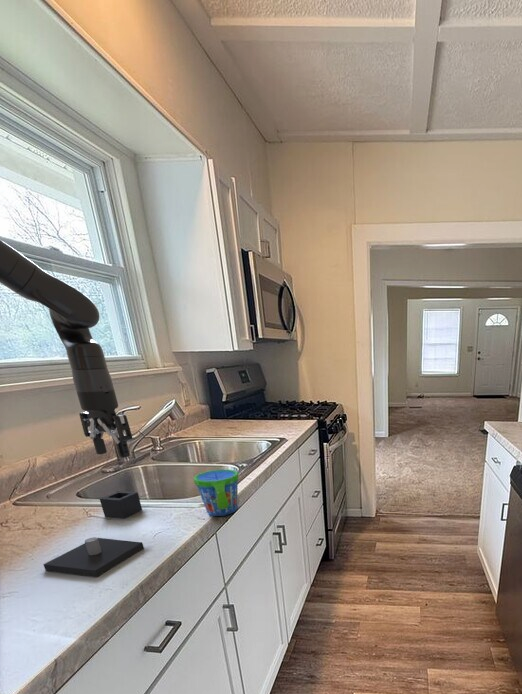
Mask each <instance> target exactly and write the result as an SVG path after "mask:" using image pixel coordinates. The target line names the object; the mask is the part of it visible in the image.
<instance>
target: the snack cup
mask: <svg viewBox="0 0 522 694" xmlns="http://www.w3.org/2000/svg"><path fill="white" fill-rule="evenodd" d="M239 477H240V475H239V472H238V471H236V470H234V469H214V470H213V469H212V470H207V471H204V472H200V473H198V474H196V475H195V476H193V482H194V484H195V486H196V487H197V490H198V493H199V495H200V498H201V500H202V503H203V506H204V508H205V511H206V513H207V514H208V515H209V516H211V517H212V516H213V517H224V516H228V515H231V514H232V513H233V514H234V513H235V512H237V511H238V503H239V502H238V496H239V495H238V492H239V491H238V489H239V488H238V485H239V484H238V481H239Z"/></svg>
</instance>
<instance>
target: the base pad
mask: <svg viewBox="0 0 522 694" xmlns="http://www.w3.org/2000/svg"><path fill="white" fill-rule="evenodd" d="M143 549H145V547H144V543H143V542H141V541H133V540H123V539H113V538H106V537H105V538H103V537H95V536H94V537H93V536H92V537H89V538H86V539H85V540H84V543H82V544H80V545H78V546H77V547H75V548H72V549H70V550H69V551H67V552H65V553H63V554H61V555H59V556H57V557H55V558H53V559H50V560H49V561H47V562H45V563H43V564H42V565H43V568H44V571H46V572H52V573H59V574H67V575H75V576H76V575H77V576H82V577H91V578H98V577H100V576H101V575H104V574H105V573H107V572H108V571H110V570H112V569H113V568H115V567H117V566H118V565H120V564H122V563H123V562H124V561H126V560H128V559H129V558H131V557H132V556H135V554H138V553H140V552H141V551H142V550H143Z"/></svg>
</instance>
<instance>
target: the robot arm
mask: <svg viewBox="0 0 522 694" xmlns="http://www.w3.org/2000/svg"><path fill="white" fill-rule="evenodd" d="M0 284H1V285H3V286H4V287H6V288H7V289H9V290H10V291H12V292H14V293H15V294H17V295H19V297H20V296H21V297H22V298H24V299H27V300H28V301H31V302H35V303H39V304H40V305H43V306H44V307H45V308H47V309H48V312H49V316H50V320H51V323H52V325H53V327H54V328H55V331H56V333H57V335H58V338H59V339H60V341H61V343H62V344H63V346H64V349H65V351H66V356H67V359H68V363H69V366H70V370H71V376H72V381H73V385H74V388H75V391H76V395H77V398H78V402H79V405H80V409H81V410H82V411H84V412H79V415H78V416H79V419H80V422H81V426H82V430H83V434H84V436H85V437H86V438H87V437H89V439H90V440H91V441H92V443H93V446H94V450H95V454H97V455H103V454H107V452H108V450H107V447H106V443H105V440H104V438H103V436H104V433H106V434H107V435H108V436H109V437H112V439H113V440H114V441H115V445H116V449H117V453H118V457H119V458H120V459H125V458H128V457H130V450H129V446H128V441H130V440H133V434H132V431H131V428H130V424H129V421H128V417H127V415H126V414H117V412H116V409H118V408H119V403H118V399H117V395H116V391H115V386H114V383H113V379H112V376H111V374H110V372H109V369H108V365H107V364H108V363H107V361H106V360H107V359H106V355H105V353H104V349H103V348H102V346H101V344H100V343H98V342H97V341H95V340H94V338H93V336H92V334H91V331H90V329H91V328H93V327H95V326H96V325H98V323H99V321H100V312H99V309H98V307H97V305H96V304H95V303H94V302H93V301H92V299H90V298H89V296H87V295H86V294H84V292H81V291H80V290H78V289H77V288H75V287H74V286H72V285H70V284H68V283H66V282H65V281H63V280H61V279H59V278H58V277H57V276H53V275H52V274H50V273H48V272H47V271H45V270H43V269H42V268H41V267H40V266H38V265H37V264H36V263H34V262H33V261H32V260H30V259H29V258H27V257H26V256H24V254H23V253H21V252H19V251H18V250H16V249H15V248H13V247H12V246H10V245H9V244H8V243H6V242H4V240H1V239H0ZM124 431H125V432H124Z"/></svg>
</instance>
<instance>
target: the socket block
mask: <svg viewBox="0 0 522 694" xmlns="http://www.w3.org/2000/svg"><path fill="white" fill-rule="evenodd" d="M99 502H100V505H101V509H102V512H103V515H104V517H105V518H115V519H127V518H129V517H131V516H133V515H135V514H136V513H139V512H141V511H143V508H142V504H141V500H140V496H139V492H138V491H124V490H116V491H115V492H112V493H109V494H108V495H105V496H103V497H100V498H99Z"/></svg>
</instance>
